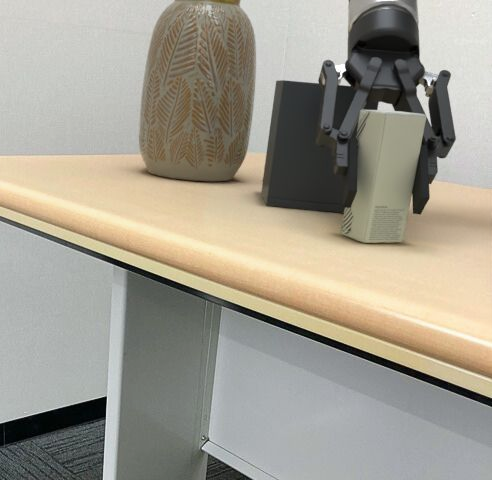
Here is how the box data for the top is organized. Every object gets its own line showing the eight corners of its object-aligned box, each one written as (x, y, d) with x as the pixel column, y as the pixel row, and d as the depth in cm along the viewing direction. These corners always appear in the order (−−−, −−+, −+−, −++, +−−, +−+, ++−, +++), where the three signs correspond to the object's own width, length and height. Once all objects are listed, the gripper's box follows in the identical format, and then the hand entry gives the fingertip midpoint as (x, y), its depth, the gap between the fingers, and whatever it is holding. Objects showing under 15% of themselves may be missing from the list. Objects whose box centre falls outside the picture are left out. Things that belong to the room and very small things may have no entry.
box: (378, 235, 81) (401, 111, 77) (404, 244, 77) (430, 114, 73) (336, 234, 80) (358, 107, 75) (361, 244, 76) (385, 110, 71)
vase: (262, 179, 121) (287, -4, 112) (211, 187, 107) (234, -21, 98) (171, 165, 129) (187, -6, 120) (114, 171, 116) (126, -22, 106)
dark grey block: (358, 214, 94) (381, 88, 89) (266, 205, 95) (283, 80, 90) (344, 200, 105) (363, 88, 100) (261, 193, 106) (276, 80, 101)
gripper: (457, 66, 86) (470, 233, 76) (290, 52, 87) (281, 215, 78) (484, 12, 79) (501, 188, 70) (302, -3, 81) (293, 168, 71)
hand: (385, 202), depth 74 cm, fingers closed on box, 6 cm apart
